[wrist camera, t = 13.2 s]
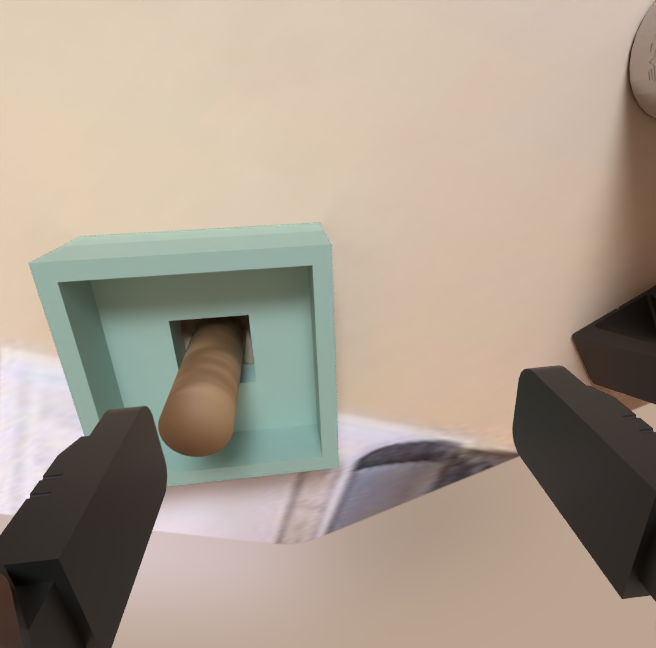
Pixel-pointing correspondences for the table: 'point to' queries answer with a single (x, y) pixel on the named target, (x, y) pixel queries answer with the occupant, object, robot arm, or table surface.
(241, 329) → the walnut peg
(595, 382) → the phone stand
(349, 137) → the table surface
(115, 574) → the robot arm
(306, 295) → the bore box
